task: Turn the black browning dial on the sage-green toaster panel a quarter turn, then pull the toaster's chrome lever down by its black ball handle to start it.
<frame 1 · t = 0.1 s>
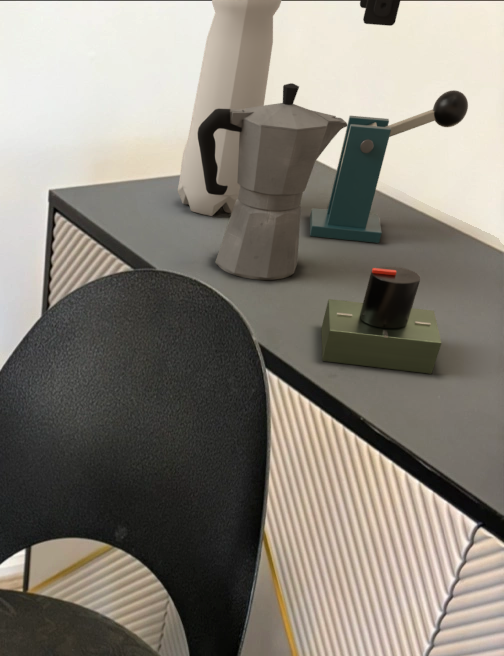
hand: (376, 16, 119), 22 cm above the sideboard, tool pointing down, fingers open, 9 cm apart
browning dial: (390, 295, 104), point 5 cm above the sideboard, hinge at 0.0°
toaster panel: (374, 350, 107), on the sideboard
coffeepot: (245, 267, 124), on the sideboard
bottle: (211, 208, 139), on the sideboard
teal lever mount: (343, 230, 134), on the sideboard
toaster lever: (409, 123, 125), point 12 cm above the sideboard, hinge at 25.0°
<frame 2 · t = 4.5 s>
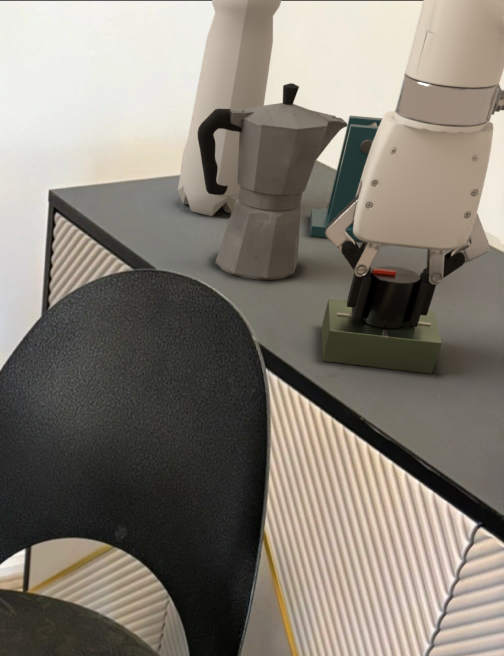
hand: (384, 316, 105), 3 cm above the sideboard, tool pointing down, fingers closed on browning dial, toaster panel, 4 cm apart
browning dial: (390, 295, 104), point 5 cm above the sideboard, hinge at 0.0°, touching gripper
everything else where it was.
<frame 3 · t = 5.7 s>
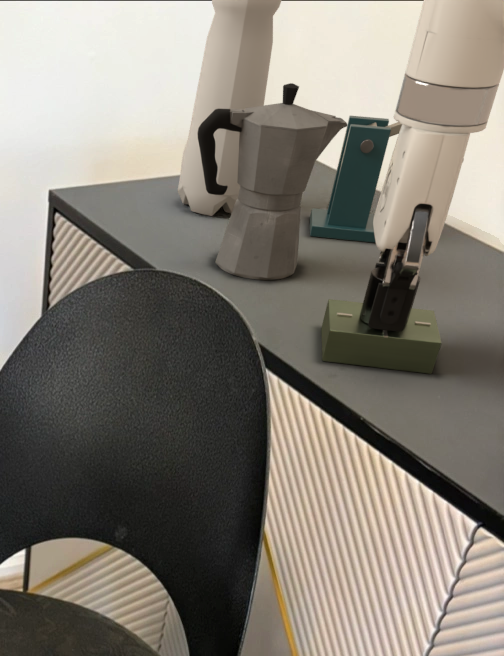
hand: (383, 316, 105), 3 cm above the sideboard, tool pointing down, fingers closed on browning dial, 4 cm apart
browning dial: (390, 295, 104), point 5 cm above the sideboard, hinge at 90.1°, touching gripper
everything else where it was.
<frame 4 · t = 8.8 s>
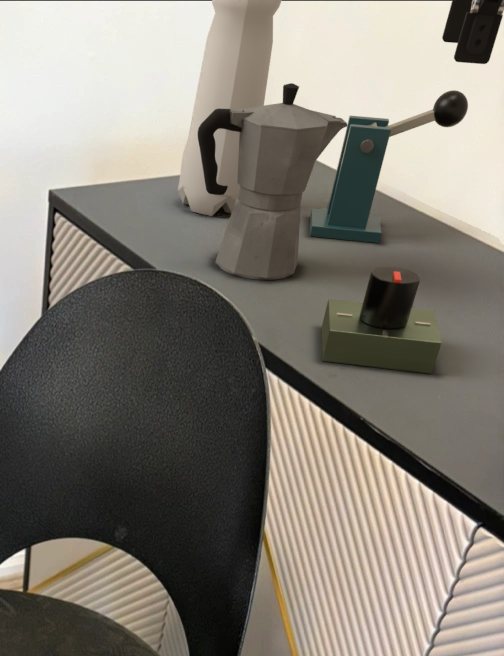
hand: (463, 52, 110), 21 cm above the sideboard, tool pointing down, fingers open, 9 cm apart
browning dial: (390, 295, 104), point 5 cm above the sideboard, hinge at 90.0°
everything else where it was.
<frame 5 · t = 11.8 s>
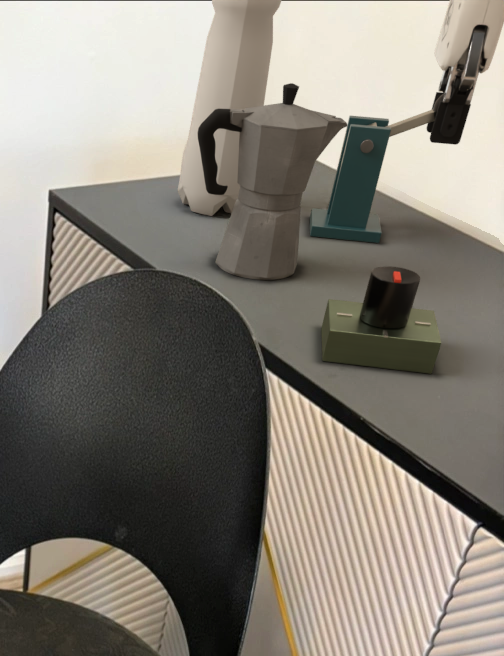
hand: (442, 135, 125), 11 cm above the sideboard, tool pointing down, fingers closed on toaster lever, 3 cm apart
toaster lever: (409, 123, 125), point 12 cm above the sideboard, hinge at 25.0°, touching gripper
everything else where it was.
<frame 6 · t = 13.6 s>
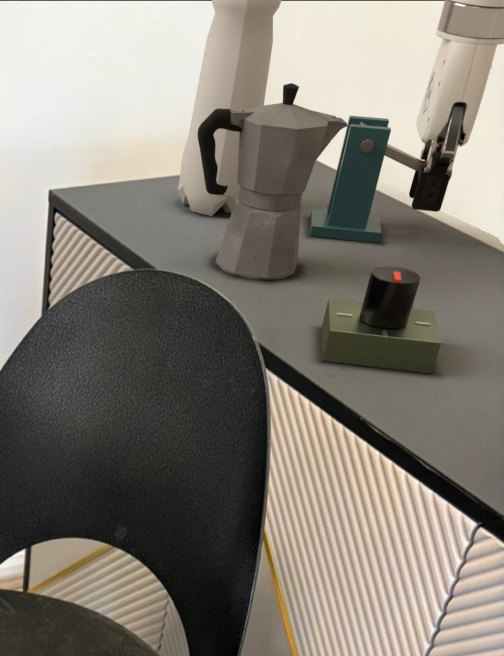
hand: (424, 202, 130), 4 cm above the sideboard, tool pointing down, fingers closed on toaster lever, 3 cm apart
toaster lever: (402, 157, 127), point 9 cm above the sideboard, hinge at -18.6°, touching gripper
everything else where it was.
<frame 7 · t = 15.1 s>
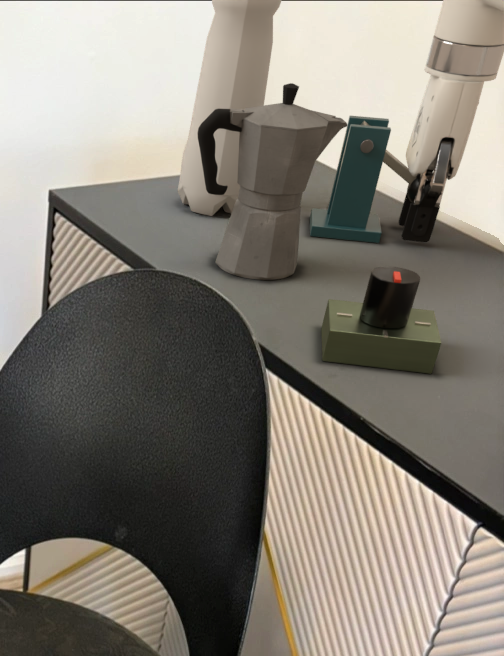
hand: (413, 231, 132), 1 cm above the sideboard, tool pointing down, fingers open, 4 cm apart
toaster lever: (396, 165, 128), point 8 cm above the sideboard, hinge at -30.5°
everything else where it was.
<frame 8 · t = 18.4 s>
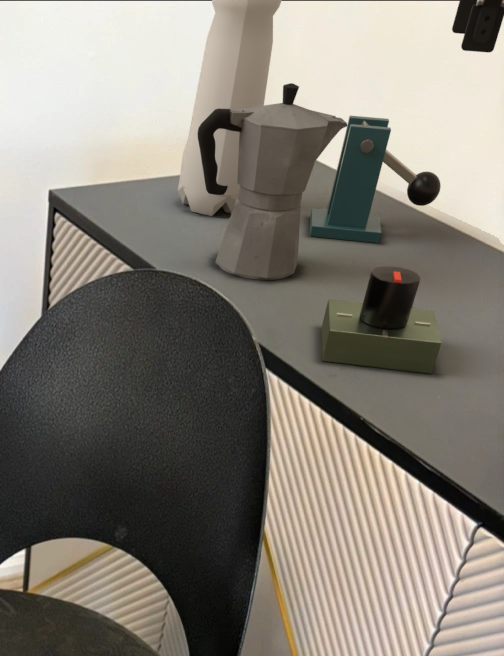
hand: (471, 41, 119), 20 cm above the sideboard, tool pointing down, fingers open, 9 cm apart
nothing on the sideboard moved.
at the end: browning dial at +90° (first picture: +0°); toaster lever at -30° (first picture: +25°) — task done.
